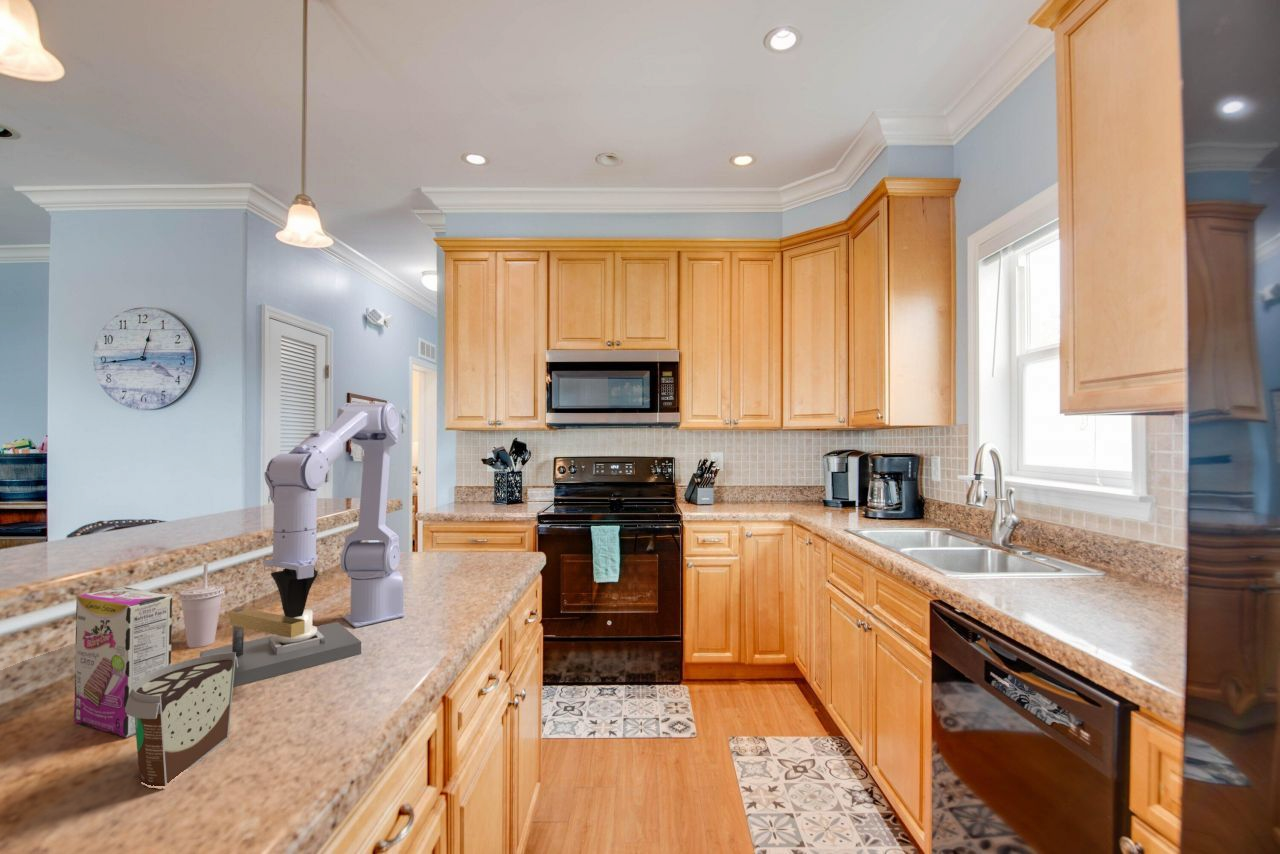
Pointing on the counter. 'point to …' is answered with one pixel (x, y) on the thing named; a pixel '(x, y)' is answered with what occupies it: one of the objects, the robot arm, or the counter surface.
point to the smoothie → (201, 612)
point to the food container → (181, 714)
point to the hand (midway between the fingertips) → (293, 616)
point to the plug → (308, 630)
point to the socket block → (290, 653)
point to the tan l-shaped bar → (262, 626)
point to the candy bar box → (117, 652)
